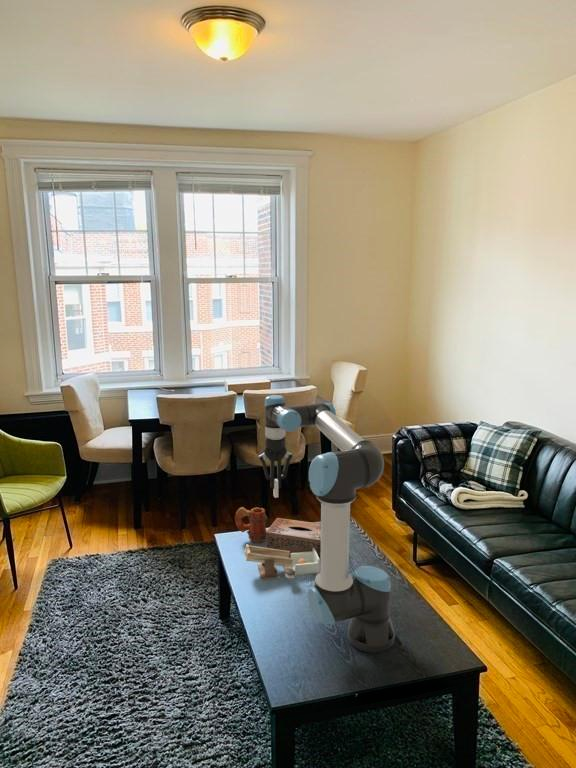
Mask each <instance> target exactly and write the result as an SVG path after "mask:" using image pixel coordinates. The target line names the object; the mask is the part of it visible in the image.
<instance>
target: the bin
mask: <svg viewBox="0 0 576 768" xmlns="http://www.w3.org/2000/svg"><path fill="white" fill-rule="evenodd" d="M290 559H293V561H292V565H291V567H292V569H293V570H294V571H295V575H294V577H298V576H306V575H307V576H308V575H317V574H318V573H319V572H320V559H319V557H318V555H317V552H316V550H315V548H312V551H309V552H299V553H291V557H290ZM300 559H305V560H306V562H307V563H303V564H298V561H299V560H300Z"/></svg>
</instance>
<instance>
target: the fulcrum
mask: <svg viewBox="0 0 576 768" xmlns="http://www.w3.org/2000/svg"><path fill="white" fill-rule="evenodd" d="M276 566H277V565H274V560H268V561H265V563H258V564H257V571H258V572H259V578H260V581H265V580H275V579H280V576H279V573H278V570H277V567H276Z"/></svg>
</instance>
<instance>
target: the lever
mask: <svg viewBox="0 0 576 768" xmlns="http://www.w3.org/2000/svg"><path fill="white" fill-rule="evenodd" d="M289 554H290V551H285V550H278V549H271V548H266V547H265V546H264V547H263V546H256V545H249V544H247V543H246V545H245V547H244V557H245V561H246V562H253V563H258V564H262V563H265V561H268V560H274V565H276V566H282V568H283V572H284V575H285V578H288V579H295V576H294V575H295V571H294V570H293V569H292V567H291V565H292V561H293V559H291V557H289Z"/></svg>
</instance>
